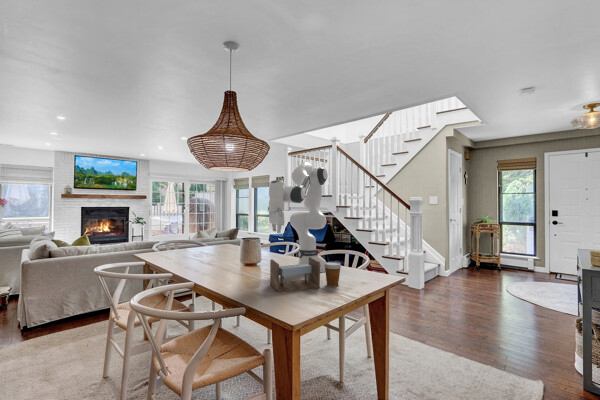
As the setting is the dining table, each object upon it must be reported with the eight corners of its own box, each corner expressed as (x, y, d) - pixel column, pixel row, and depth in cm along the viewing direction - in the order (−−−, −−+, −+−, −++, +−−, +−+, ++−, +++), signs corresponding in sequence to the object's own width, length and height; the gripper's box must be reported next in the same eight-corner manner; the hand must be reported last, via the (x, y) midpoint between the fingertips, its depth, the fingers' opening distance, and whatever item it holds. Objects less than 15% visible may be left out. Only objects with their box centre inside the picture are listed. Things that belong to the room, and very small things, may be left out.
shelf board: (305, 270, 169) (305, 263, 169) (311, 272, 163) (311, 265, 163) (277, 274, 160) (277, 266, 160) (282, 276, 154) (282, 269, 154)
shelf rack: (310, 281, 172) (310, 257, 172) (319, 287, 159) (319, 261, 159) (270, 284, 164) (270, 259, 164) (276, 292, 151) (276, 264, 151)
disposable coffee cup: (331, 288, 158) (331, 266, 158) (320, 284, 166) (320, 262, 166) (344, 285, 163) (344, 264, 163) (333, 281, 171) (333, 261, 171)
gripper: (287, 208, 160) (287, 234, 160) (277, 207, 180) (277, 230, 180) (276, 208, 158) (275, 234, 158) (267, 207, 177) (267, 230, 177)
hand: (276, 232), depth 169 cm, fingers open, 8 cm apart
